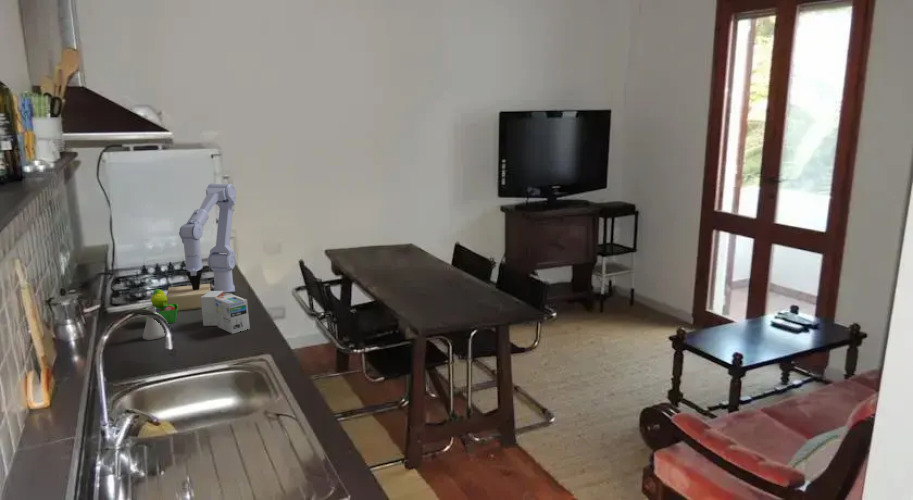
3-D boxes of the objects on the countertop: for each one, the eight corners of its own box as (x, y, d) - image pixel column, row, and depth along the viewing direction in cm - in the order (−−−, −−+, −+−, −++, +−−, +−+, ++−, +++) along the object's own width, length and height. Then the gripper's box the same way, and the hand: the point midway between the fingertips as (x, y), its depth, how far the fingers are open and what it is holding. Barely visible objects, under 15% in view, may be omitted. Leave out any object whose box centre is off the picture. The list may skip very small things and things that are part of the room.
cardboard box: (170, 301, 252) (169, 289, 251) (211, 297, 257) (210, 285, 256) (167, 311, 239) (166, 299, 238) (210, 307, 244) (209, 294, 243)
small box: (218, 326, 223) (216, 297, 221) (203, 326, 223) (199, 297, 221) (227, 318, 231) (224, 290, 229) (212, 318, 231) (209, 290, 229)
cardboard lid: (169, 289, 251) (168, 287, 251) (210, 285, 256) (209, 283, 256) (166, 298, 238) (165, 297, 238) (209, 294, 243) (209, 292, 243)
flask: (161, 331, 219) (158, 303, 216) (169, 336, 214) (166, 307, 211) (139, 336, 214) (135, 308, 211) (147, 342, 209) (143, 312, 206)
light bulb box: (250, 329, 220) (247, 299, 217) (232, 334, 215) (229, 303, 212) (234, 322, 227) (232, 293, 224) (216, 327, 222) (213, 297, 220)
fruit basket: (144, 327, 222) (140, 296, 220) (144, 320, 230) (140, 289, 228) (179, 322, 227) (176, 292, 224) (179, 315, 235) (175, 285, 232)
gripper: (182, 252, 250) (186, 285, 253) (180, 260, 237) (183, 295, 239) (202, 250, 252) (205, 284, 255) (200, 258, 239) (204, 293, 242)
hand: (196, 289), depth 247 cm, fingers closed, pressing on cardboard lid
